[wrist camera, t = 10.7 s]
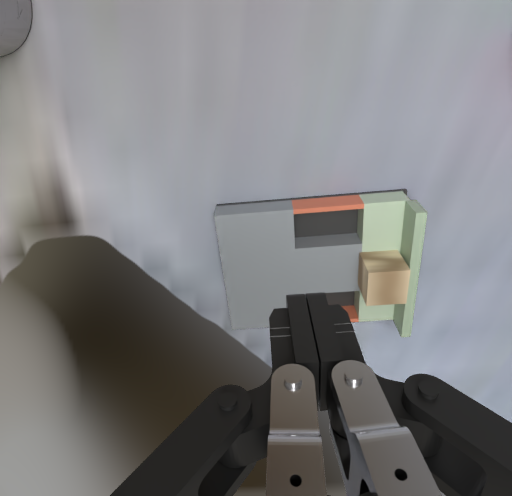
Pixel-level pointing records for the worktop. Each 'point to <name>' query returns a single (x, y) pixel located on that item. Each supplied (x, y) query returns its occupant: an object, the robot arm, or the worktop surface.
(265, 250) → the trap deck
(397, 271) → the maple block
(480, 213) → the worktop surface
